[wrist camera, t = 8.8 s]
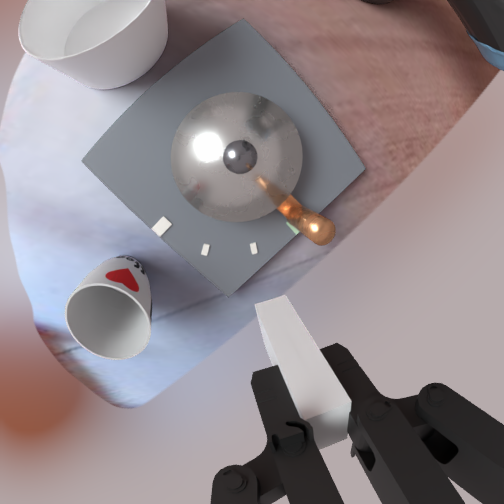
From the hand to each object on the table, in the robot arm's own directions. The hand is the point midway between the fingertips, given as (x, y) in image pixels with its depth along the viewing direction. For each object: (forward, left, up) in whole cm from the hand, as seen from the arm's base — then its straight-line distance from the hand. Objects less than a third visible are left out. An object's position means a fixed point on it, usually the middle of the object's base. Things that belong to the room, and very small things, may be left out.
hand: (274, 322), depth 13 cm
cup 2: (+13, -4, -19) cm, 23 cm away
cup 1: (-5, -24, -19) cm, 31 cm away
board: (-5, -5, -19) cm, 21 cm away
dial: (-6, -3, -17) cm, 18 cm away
